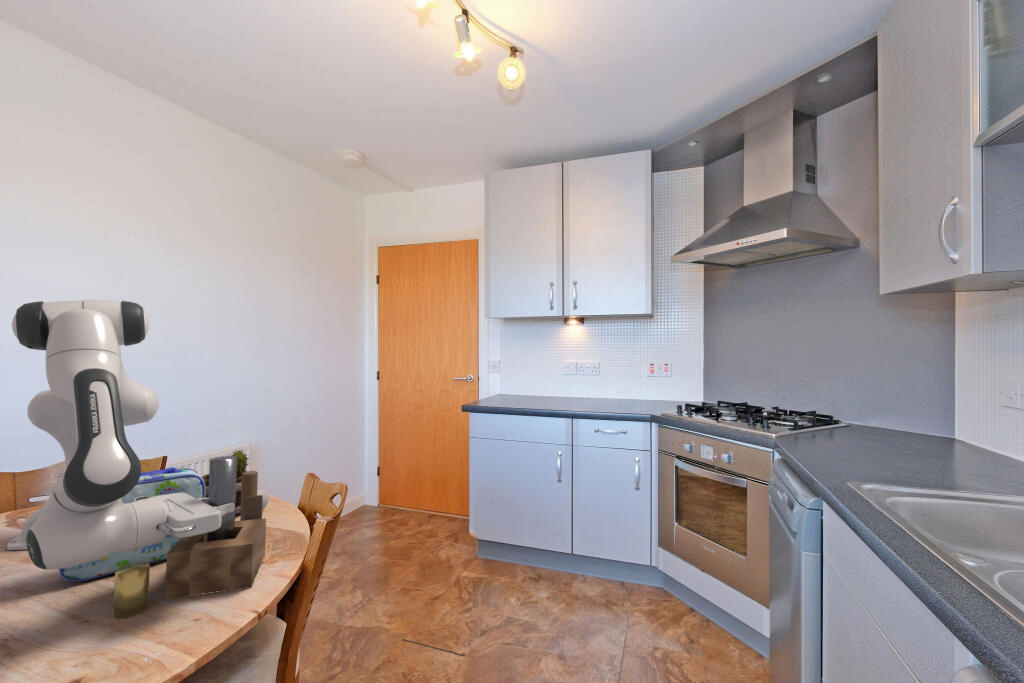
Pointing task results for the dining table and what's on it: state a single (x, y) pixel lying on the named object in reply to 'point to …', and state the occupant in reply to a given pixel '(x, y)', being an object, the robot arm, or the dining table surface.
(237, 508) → the flowerpot
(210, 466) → the steel pin
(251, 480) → the wooden block
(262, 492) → the lightbulb
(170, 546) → the lunch box
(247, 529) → the block
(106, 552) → the robot arm
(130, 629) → the dining table surface
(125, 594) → the brass pin
